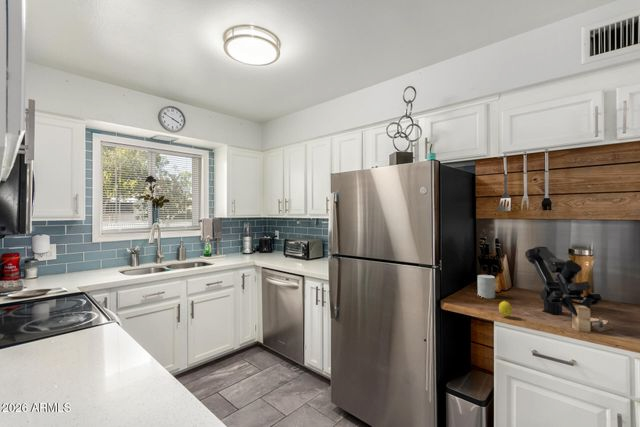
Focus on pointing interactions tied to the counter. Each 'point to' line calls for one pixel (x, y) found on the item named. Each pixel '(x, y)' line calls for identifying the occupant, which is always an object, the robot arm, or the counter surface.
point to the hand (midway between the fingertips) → (583, 315)
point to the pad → (598, 320)
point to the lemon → (505, 308)
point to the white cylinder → (486, 286)
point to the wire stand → (599, 325)
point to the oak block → (581, 319)
